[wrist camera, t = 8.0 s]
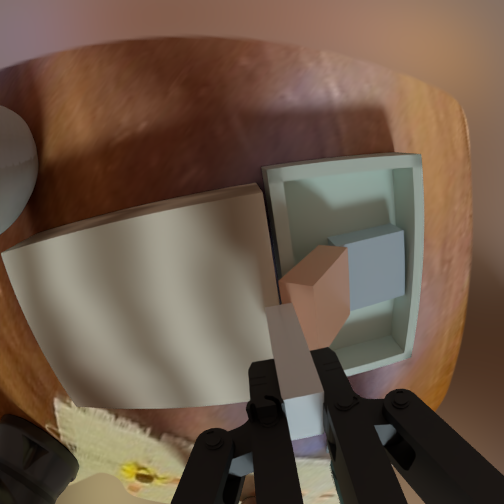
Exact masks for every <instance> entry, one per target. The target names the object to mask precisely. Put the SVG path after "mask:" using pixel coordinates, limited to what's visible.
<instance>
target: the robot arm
mask: <svg viewBox="0 0 504 504" xmlns="http://www.w3.org/2000/svg"><path fill="white" fill-rule="evenodd" d="M265 313H266V319H267V325H268V331H269V337H270V342H271V348H272V354H273V359H268V360H262V361H256V362H252V363H251V365H250V367H249V369H248V377H249V391H250V401H249V402H248V403H247V407H246V411H247V414H248V418H249V419H248V421H247V422H246V423H245V424H243V425H242V426H240V427H238V428H236V429H233V430H231V431H228V432H227V431H226V430H224V429H220V428H211V429H208V430H205V431H204V432H203V433H201V434H200V435H199V436H198V438H197V439H196V442H195V444H194V447H193V449H192V452H191V454H190V457H189V459H188V462H187V464H186V467H185V469H184V472H183V474H182V477H181V479H180V482H179V484H178V487H177V489H176V492H175V494H174V496H173V499H172V501H171V504H238V503H239V500H240V496H241V492H242V488H243V484H244V480H245V476H246V475H247V474H249V473H252V472H254V481H255V493H256V504H303V499H302V493H301V488H300V483H299V478H298V473H297V467H296V462H295V457H294V452H293V447H292V442H291V440H296V439H301V438H307V437H311V436H316V435H320V434H324V429H325V433H326V436H327V453H330V457H331V460H332V464H333V467H334V471H335V474H336V478H337V481H338V485H339V488H340V492H341V495H342V499H343V502H344V504H408V503H407V501H406V498H405V496H404V493H403V491H402V489H401V487H400V484H399V482H398V479H397V477H396V474H395V472H394V470H393V467H392V465H393V466H394V467H395V468H396V470H397V471H398V472H399V473H400V474H401V475H402V477H403V478H404V479H405V480H406V481H407V482H408V484H409V485H410V486H411V487H412V489H413V490H414V491H415V492H416V493H417V494H418V496H419V497H420V498H421V499H422V500H423V501H424V502H425V504H504V476H503V475H502V474H501V473H500V472H499V471H498V470H497V469H496V468H494V466H492V464H490V463H489V462H488V461H487V460H486V459H485V458H484V457H483V456H482V455H481V454H480V453H479V452H477V451H476V450H475V449H474V448H473V447H472V446H471V445H470V444H469V443H468V442H467V441H465V440H464V439H463V438H462V437H461V436H460V435H459V434H458V433H457V432H456V431H455V430H454V429H452V428H451V427H450V426H449V425H448V424H447V423H446V422H445V421H444V420H443V419H442V418H440V417H439V416H438V415H437V414H436V413H435V412H434V411H433V410H432V409H431V408H430V407H428V406H427V405H426V404H425V403H424V402H423V401H422V400H421V399H420V398H419V397H417V396H416V395H415V394H414V393H413V392H411V391H409V390H406V389H396V390H393V391H391V392H389V393H388V394H387V395H386V396H385V399H365V398H362V397H360V396H359V395H358V394H356V393H355V392H354V391H353V389H352V387H351V385H350V383H349V381H348V378H347V376H346V374H345V372H344V370H343V368H342V365H341V363H340V362H339V359H338V357H337V355H336V353H335V352H334V351H333V350H331V349H330V348H329V347H325V348H321V349H316V350H311V351H310V350H309V348H308V345H307V342H306V339H305V337H304V334H303V331H302V328H301V326H300V323H299V320H298V317H297V315H296V312H295V309H294V306H293V304H292V303H287V304H281V305H276V306H270V307H265ZM390 462H391V463H390ZM391 464H392V465H391ZM78 470H79V464H78V462H77V460H76V459H75V458H74V456H73V455H72V454H71V453H70V452H69V451H68V450H67V449H66V448H65V447H64V446H62V445H61V444H60V443H59V442H58V441H56V440H55V439H54V438H52V437H51V436H50V435H48V434H47V433H45V432H44V431H42V430H41V429H39V428H38V427H36V426H35V425H33V424H31V423H29V422H28V421H26V420H24V419H21V418H19V417H17V416H14V415H4V416H3V417H2V418H1V420H0V504H55V502H56V500H57V498H58V496H59V495H60V494H61V493H62V492H63V491H64V490H65V488H66V487H67V486H68V484H69V482H72V481H73V480H74V479H75V478H76V476H77V473H78Z"/></svg>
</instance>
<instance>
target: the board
mask: <svg viewBox="0 0 504 504" xmlns="http://www.w3.org/2000/svg"><path fill="white" fill-rule="evenodd" d="M1 256H2V259H3V262H4V265H5V268H6V270H7V273H8V276H9V279H10V281H11V284H12V287H13V289H14V292H15V294H16V297H17V299H18V301H19V304H20V306H21V308H22V311H23V313H24V315H25V317H26V320H27V322H28V324H29V326H30V328H31V330H32V332H33V334H34V336H35V338H36V340H37V342H38V344H39V346H40V348H41V350H42V351H43V353H44V355H45V357H46V359H47V361H48V362H49V364H50V366H51V367H52V369H53V371H54V373H55V374H56V376H57V378H58V379H59V381H60V382H61V384H62V386H63V387H64V389H65V390H66V392H67V393H68V395H69V396H70V398H71V399H72V401H73V402H74V404H75V405H76V406H79V407H93V408H115V409H162V408H185V407H199V406H211V405H222V404H231V403H239V402H247V401H250V391H249V377H248V369H249V367H250V365H251V363H252V362H256V361H262V360H268V359H273V354H272V348H271V342H270V337H269V331H268V325H267V319H266V313H265V307H270V306H276V305H279V298H278V291H277V284H276V277H275V270H274V264H273V257H272V250H271V243H270V237H269V230H268V224H267V217H266V211H265V204H264V198H263V192H262V191H261V189H260V188H259V186H258V185H257V183H251V184H245V185H239V186H233V187H228V188H222V189H217V190H212V191H206V192H201V193H196V194H191V195H186V196H181V197H177V198H172V199H167V200H163V201H158V202H154V203H149V204H145V205H140V206H136V207H132V208H128V209H124V210H120V211H116V212H112V213H108V214H104V215H100V216H96V217H92V218H89V219H85V220H81V221H78V222H74V223H70V224H67V225H63V226H60V227H57V228H53V229H50V230H46V231H43V232H40V233H37V234H35V235H33V236H31V237H29V238H27V239H26V240H24V241H22V242H20V243H18V244H17V245H15V246H13V247H11V248H9V249H8V250H6V251H4V252H2V253H1Z"/></svg>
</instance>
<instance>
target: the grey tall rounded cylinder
mask: <svg viewBox="0 0 504 504" xmlns="http://www.w3.org/2000/svg"><path fill="white" fill-rule="evenodd" d="M37 175H38V156H37V150H36V144H35V142H34V139H33V136H32V134H31V131H30V129H29V127H28V125H27V123H26V122H25V121H24V120H23V119H22V118H21V117H20V116H19V115H18V114H16V113H15V112H13V111H12V110H10V109H8V108H6V107H4V106H1V105H0V234H1V233H3V232H4V231H5V230H6V229H8V228H9V227H10V226H11V225H12V224H13V223H14V222H15V220H16V219H17V218H18V217H19V215H20V214H21V212H22V211H23V209H24V208H25V206H26V204H27V202H28V200H29V198H30V196H31V194H32V192H33V189H34V186H35V183H36V179H37Z"/></svg>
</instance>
